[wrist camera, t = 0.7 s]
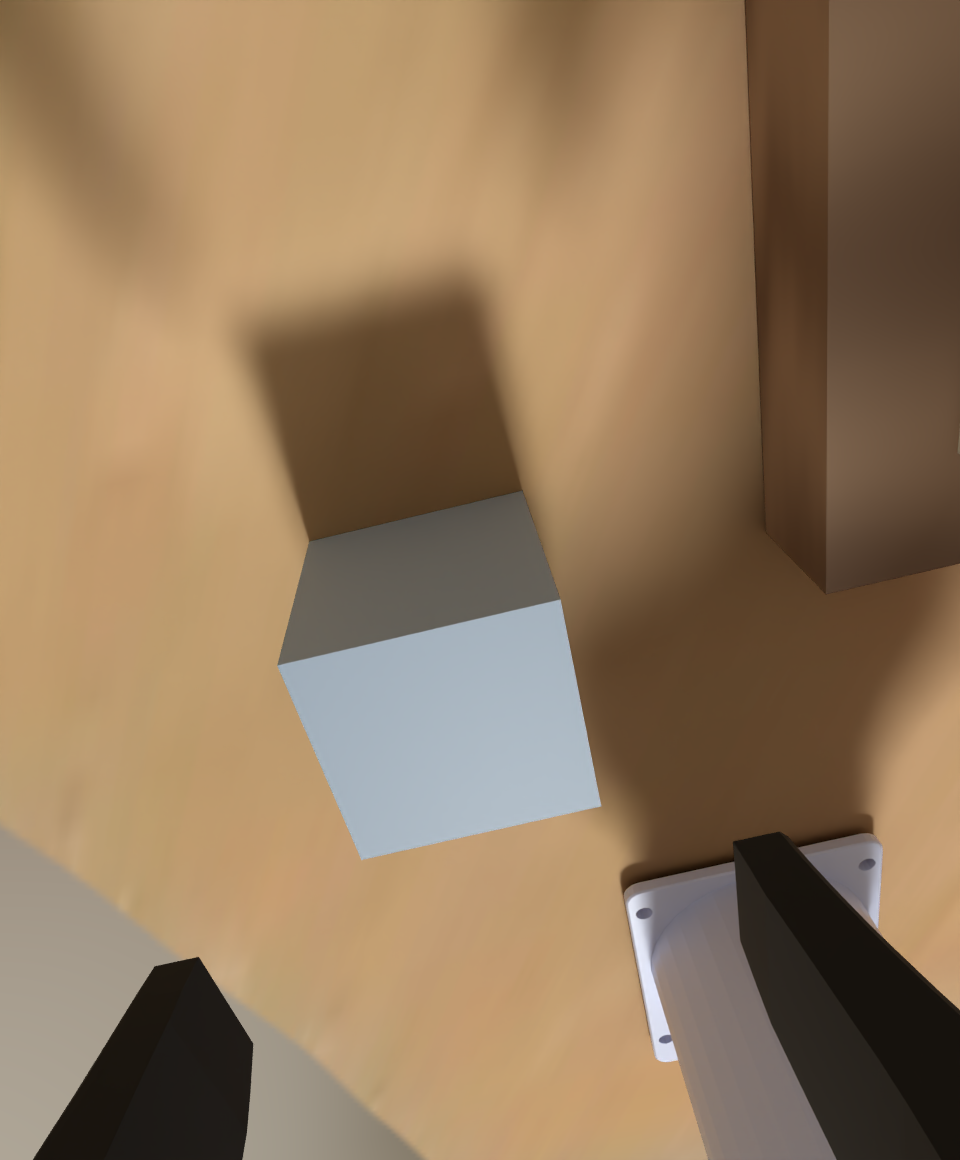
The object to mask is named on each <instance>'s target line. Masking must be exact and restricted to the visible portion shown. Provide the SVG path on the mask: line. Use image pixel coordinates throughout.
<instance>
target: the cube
mask: <svg viewBox="0 0 960 1160" xmlns="http://www.w3.org/2000/svg"><path fill="white" fill-rule="evenodd" d="M277 666H278V668H279V671H280V673H281V675H282V677H283V680H284V682H285V684H286V687H287V689H288V691H289V694H290V696H291V698H292V701H293V703H294V705H295V707H296V710H297V712H298V714H299V717H300V719H301V721H302V724H303V726H304V728H305V730H306V733H307V735H308V737H309V740H310V742H311V744H312V747H313V749H314V751H315V754H316V756H317V758H318V760H319V763H320V765H321V767H322V770H323V772H324V774H325V777H326V779H327V781H328V784H329V786H330V788H331V790H332V793H333V795H334V797H335V800H336V802H337V804H338V807H339V809H340V811H341V813H342V816H343V818H344V820H345V823H346V825H347V827H348V830H349V832H350V834H351V837H352V839H353V841H354V843H355V846H356V848H357V850H358V853H359V855H360V857H361V860H363V859H368V858H372V857H377V856H381V855H386V854H390V853H395V852H399V851H403V850H408V849H412V848H417V847H421V846H426V845H430V844H435V843H439V842H444V841H448V840H453V839H457V838H462V837H466V836H470V835H475V834H479V833H484V832H488V831H493V830H497V829H502V828H506V827H511V826H515V825H520V824H524V823H529V822H533V821H537V820H542V819H546V818H551V817H555V816H560V815H564V814H569V813H573V812H578V811H582V810H587V809H591V808H596V807H600V806H601V803H600V798H599V793H598V788H597V783H596V778H595V772H594V767H593V762H592V757H591V752H590V747H589V742H588V737H587V732H586V727H585V722H584V717H583V711H582V706H581V701H580V696H579V691H578V686H577V681H576V676H575V671H574V666H573V661H572V655H571V650H570V645H569V640H568V635H567V630H566V625H565V620H564V615H563V610H562V605H561V599H560V597H559V594H558V591H557V588H556V585H555V582H554V580H553V577H552V574H551V571H550V568H549V565H548V562H547V560H546V557H545V554H544V551H543V548H542V545H541V542H540V540H539V537H538V534H537V531H536V528H535V525H534V522H533V520H532V517H531V514H530V511H529V508H528V505H527V502H526V500H525V497H524V494H523V491H519V492H515V493H510V494H506V495H502V496H498V497H494V498H489V499H485V500H481V501H477V502H473V503H469V504H464V505H460V506H456V507H452V508H448V509H443V510H439V511H435V512H431V513H427V514H422V515H418V516H414V517H410V518H406V519H402V520H397V521H393V522H389V523H385V524H381V525H376V526H372V527H368V528H364V529H360V530H355V531H351V532H347V533H343V534H339V535H335V536H330V537H326V538H322V539H318V540H314V541H309V545H308V549H307V553H306V557H305V561H304V564H303V568H302V572H301V576H300V580H299V584H298V588H297V591H296V595H295V599H294V603H293V607H292V611H291V615H290V619H289V622H288V626H287V630H286V634H285V638H284V642H283V646H282V649H281V653H280V657H279V661H278V665H277Z"/></svg>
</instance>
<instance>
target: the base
mask: <svg viewBox="0 0 960 1160" xmlns="http://www.w3.org/2000/svg"><path fill="white" fill-rule="evenodd" d="M745 3H746V29H747V55H748V81H749V107H750V133H751V159H752V185H753V211H754V237H755V263H756V289H757V315H758V341H759V367H760V393H761V418H762V444H763V470H764V496H765V522H766V533H767V534H768V535H769V536H770V537H771V538H772V539H773V540H774V541H775V542H776V543H777V545H778V546H779V547H780V548H781V549H782V550H783V551H784V552H785V553H786V554H787V555H788V556H789V557H790V558H791V559H792V560H793V561H794V562H795V563H796V564H797V565H798V566H799V567H800V568H801V569H802V570H803V571H804V572H805V573H806V574H807V575H808V576H809V577H810V578H811V579H812V580H813V581H814V582H815V583H816V584H817V586H818V587H819V588H820V589H821V590H822V591H823V592H824V593H825V594H829V593H834V592H838V591H842V590H847V589H851V588H855V587H860V586H864V585H868V584H873V583H877V582H881V581H886V580H890V579H894V578H899V577H903V576H907V575H912V574H916V573H920V572H925V571H929V570H933V569H938V568H942V567H946V566H951V565H955V564H959V563H960V0H745Z"/></svg>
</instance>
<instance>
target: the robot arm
mask: <svg viewBox="0 0 960 1160" xmlns="http://www.w3.org/2000/svg"><path fill="white" fill-rule="evenodd" d="M733 848H734V862H730V863H725V864H721V865H716V866H712V867H707V868H703V869H698V870H693V871H689V872H684V873H680V874H675V875H671V876H666V877H662V878H657V879H653V880H648V881H644V882H639V883H636V884H633V885H631V886H630V887H628V888H627V889H626V891H625V892H624V901H625V906H626V911H627V917H628V922H629V927H630V932H631V938H632V943H633V948H634V953H635V959H636V964H637V969H638V974H639V980H640V985H641V990H642V995H643V1000H644V1006H645V1011H646V1016H647V1021H648V1027H649V1032H650V1037H651V1042H652V1048H653V1051H654V1055H655V1057H656V1059H658V1060H659V1061H662V1062H670V1061H675V1060H678V1061H679V1064H680V1067H681V1071H682V1074H683V1077H684V1081H685V1084H686V1087H687V1091H688V1094H689V1097H690V1100H691V1104H692V1107H693V1110H694V1114H695V1117H696V1120H697V1124H698V1127H699V1130H700V1133H701V1137H702V1140H703V1143H704V1147H705V1150H706V1153H707V1157H708V1160H960V1010H959V1009H958V1008H957V1007H956V1006H955V1005H954V1004H953V1003H951V1002H950V1001H949V1000H948V999H947V998H946V997H945V996H944V995H943V994H942V993H940V992H939V991H938V990H937V989H936V988H935V987H934V986H933V985H932V984H931V983H930V982H929V981H928V980H927V979H926V978H925V977H924V976H923V975H922V974H920V973H919V972H918V971H917V970H916V969H915V968H914V967H913V966H912V965H911V964H910V963H909V962H908V961H907V960H906V959H905V958H904V957H903V956H901V955H900V954H899V953H898V952H897V951H896V950H895V949H894V948H893V947H892V946H891V945H890V944H889V943H888V942H887V941H886V940H885V939H884V938H883V936H882V935H881V933H880V932H879V930H878V923H879V907H880V890H881V873H882V856H883V847H882V844H881V843H880V841H879V840H878V839H877V837H876V836H875V835H873V834H870V833H861V834H857V835H852V836H848V837H843V838H839V839H834V840H829V841H825V842H820V843H816V844H811V845H807V846H802V847H798V848H797V846H796V845H795V844H794V843H793V842H792V841H791V839H790V838H789V837H788V836H786V835H784V834H783V833H781V832H776V833H771V834H766V835H762V836H757V837H752V838H748V839H743V840H739V841H734V842H733ZM252 1056H253V1043H252V1041H251V1039H250V1038H249V1036H248V1035H247V1033H246V1032H245V1030H244V1028H243V1027H242V1025H241V1023H240V1022H239V1020H238V1019H237V1017H236V1016H235V1014H234V1012H233V1011H232V1009H231V1008H230V1006H229V1004H228V1003H227V1001H226V1000H225V998H224V996H223V995H222V993H221V992H220V990H219V988H218V987H217V985H216V984H215V982H214V980H213V979H212V977H211V976H210V974H209V973H208V971H207V969H206V968H205V966H204V965H203V963H202V961H201V960H200V958H199V957H196V958H192V959H187V960H182V961H178V962H173V963H169V964H164V965H159V966H155V967H154V969H153V970H152V972H151V973H150V974H149V976H148V978H147V979H146V981H145V982H144V984H143V986H142V987H141V989H140V990H139V992H138V993H137V995H136V997H135V998H134V1000H133V1001H132V1003H131V1004H130V1006H129V1008H128V1009H127V1011H126V1013H125V1014H124V1016H123V1017H122V1019H121V1021H120V1022H119V1024H118V1026H117V1027H116V1029H115V1030H114V1032H113V1034H112V1035H111V1037H110V1038H109V1040H108V1042H107V1043H106V1045H105V1047H104V1048H103V1050H102V1051H101V1053H100V1055H99V1056H98V1058H97V1060H96V1061H95V1063H94V1064H93V1066H92V1067H91V1069H90V1071H89V1072H88V1074H87V1076H86V1077H85V1079H84V1080H83V1082H82V1084H81V1085H80V1087H79V1088H78V1090H77V1092H76V1093H75V1095H74V1096H73V1098H72V1099H71V1101H70V1103H69V1104H68V1106H67V1107H66V1109H65V1110H64V1112H63V1113H62V1115H61V1117H60V1118H59V1120H58V1121H57V1123H56V1124H55V1126H54V1127H53V1129H52V1131H51V1132H50V1134H49V1135H48V1137H47V1138H46V1140H45V1141H44V1143H43V1145H42V1146H41V1148H40V1149H39V1151H38V1152H37V1154H36V1156H35V1157H34V1159H33V1160H242V1158H243V1152H244V1146H245V1140H246V1134H247V1124H248V1112H249V1102H250V1089H251V1072H252Z"/></svg>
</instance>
